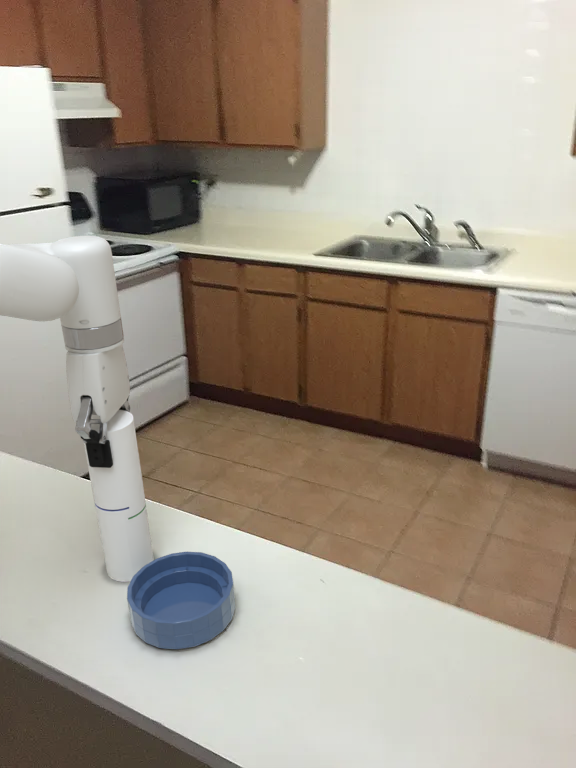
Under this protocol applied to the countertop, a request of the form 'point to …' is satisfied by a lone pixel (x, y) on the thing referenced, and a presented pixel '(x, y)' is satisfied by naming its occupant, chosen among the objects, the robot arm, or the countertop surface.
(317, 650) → the countertop surface
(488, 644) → the countertop surface
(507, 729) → the countertop surface
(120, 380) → the robot arm
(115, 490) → the cylindrical container
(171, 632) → the bowl
